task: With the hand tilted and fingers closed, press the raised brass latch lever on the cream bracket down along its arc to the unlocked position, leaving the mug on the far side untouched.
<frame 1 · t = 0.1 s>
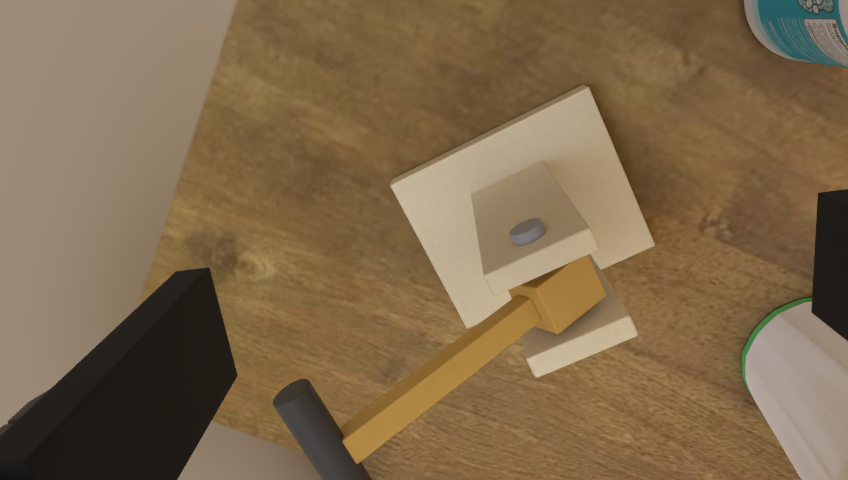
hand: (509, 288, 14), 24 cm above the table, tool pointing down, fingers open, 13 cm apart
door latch: (521, 208, 38), on the table
latch lever: (458, 361, 25), point 15 cm above the table, hinge at 30.0°
cup: (806, 355, 41), on the table
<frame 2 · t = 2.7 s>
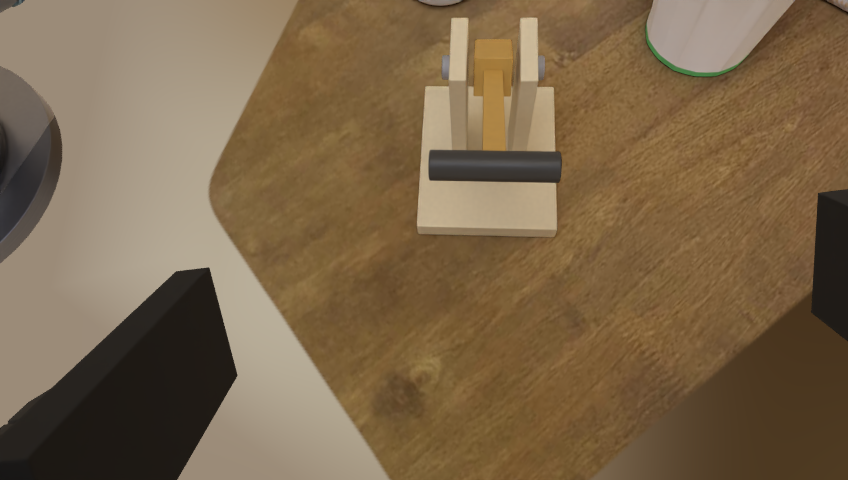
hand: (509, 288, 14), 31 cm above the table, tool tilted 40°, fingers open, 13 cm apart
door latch: (487, 163, 50), on the table
latch lever: (493, 107, 34), point 15 cm above the table, hinge at 30.0°
cup: (696, 36, 53), on the table
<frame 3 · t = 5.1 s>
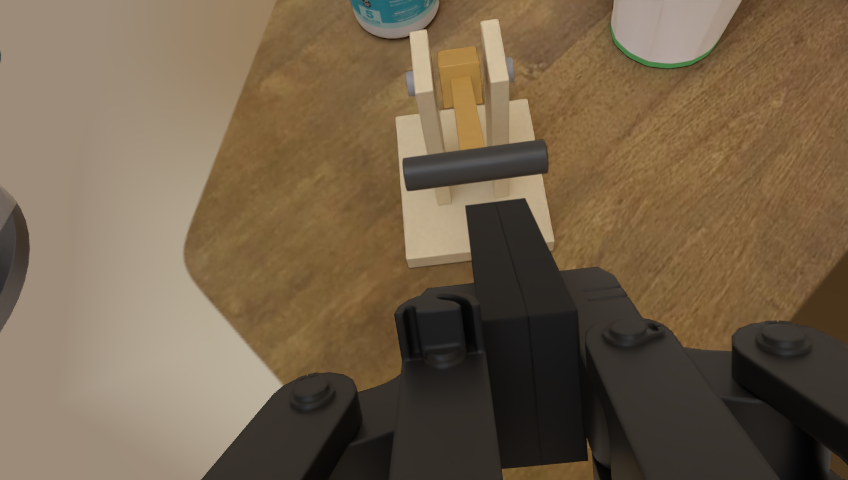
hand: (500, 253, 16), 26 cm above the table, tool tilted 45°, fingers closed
pill bottle: (398, 12, 56), on the table
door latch: (470, 185, 47), on the table
latch lever: (465, 112, 32), point 15 cm above the table, hinge at 30.0°
cup: (663, 29, 52), on the table
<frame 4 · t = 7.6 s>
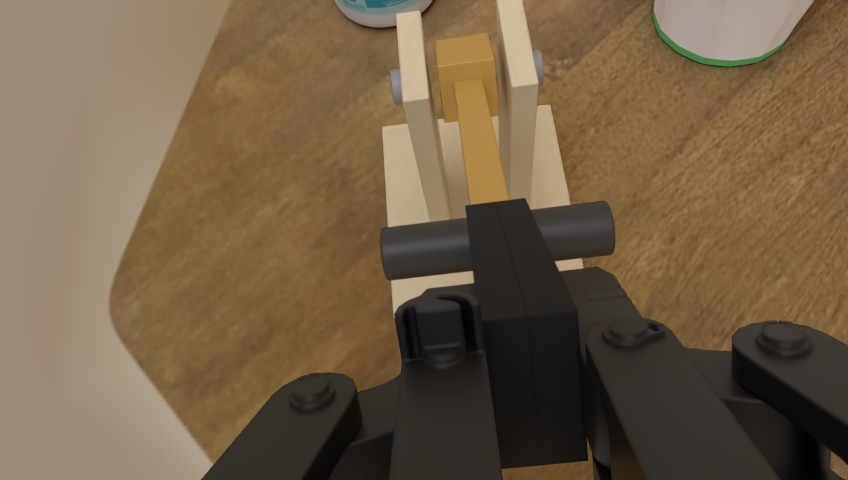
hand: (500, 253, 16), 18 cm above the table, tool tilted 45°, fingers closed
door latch: (477, 216, 37), on the table
latch lever: (477, 137, 22), point 14 cm above the table, hinge at 27.0°, touching gripper
cup: (719, 18, 41), on the table
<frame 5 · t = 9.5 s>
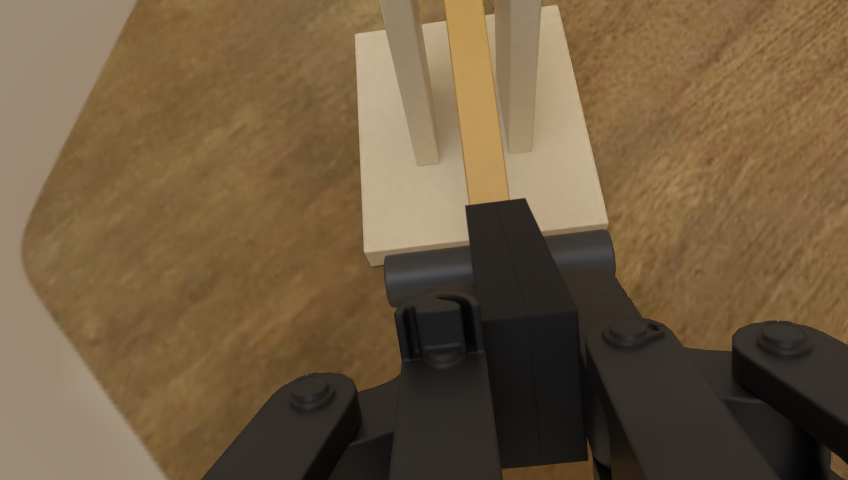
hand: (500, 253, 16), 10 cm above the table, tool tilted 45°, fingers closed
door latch: (470, 137, 30), on the table
latch lever: (471, 67, 18), point 11 cm above the table, hinge at -16.1°, touching gripper
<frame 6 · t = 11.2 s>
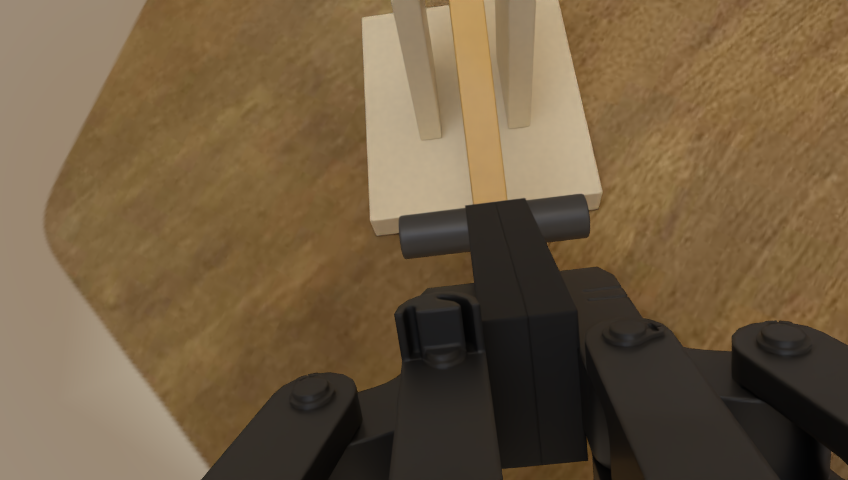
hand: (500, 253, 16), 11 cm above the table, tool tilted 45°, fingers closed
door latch: (471, 115, 32), on the table
latch lever: (471, 47, 21), point 10 cm above the table, hinge at -27.3°
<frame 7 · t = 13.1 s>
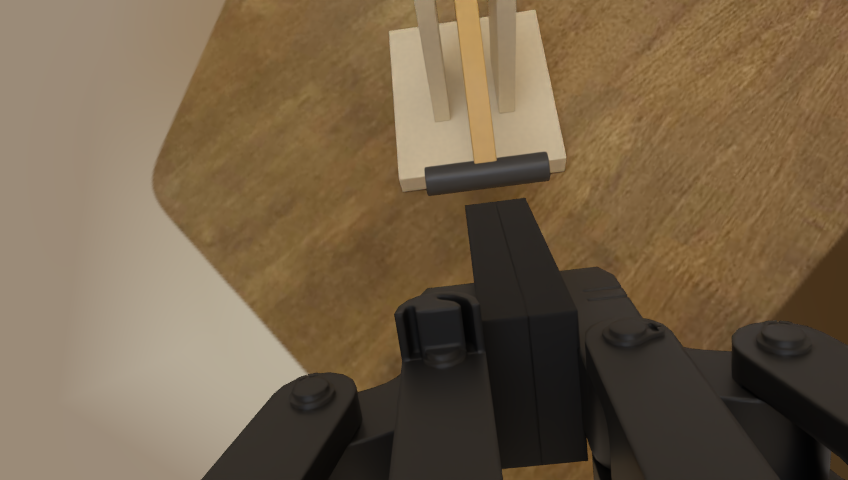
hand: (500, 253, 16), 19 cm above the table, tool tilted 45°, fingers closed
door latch: (472, 104, 42), on the table
latch lever: (472, 55, 32), point 10 cm above the table, hinge at -27.3°
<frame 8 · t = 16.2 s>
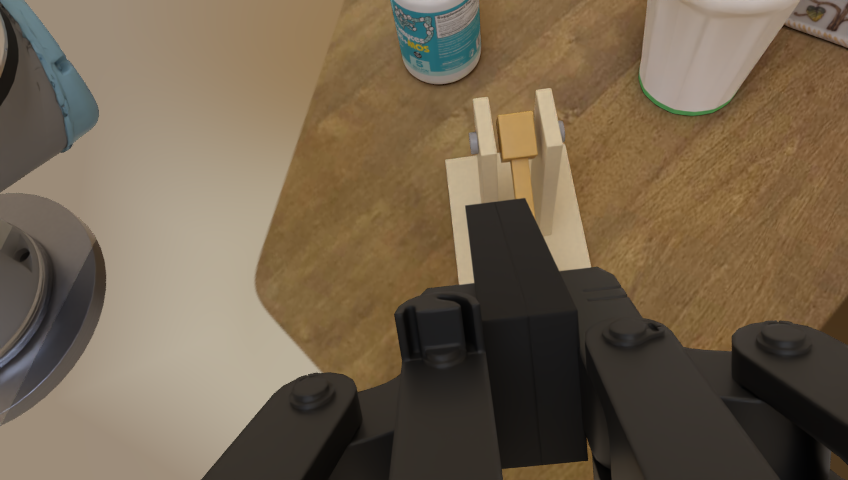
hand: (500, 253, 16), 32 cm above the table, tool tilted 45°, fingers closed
pill bottle: (442, 58, 61), on the table
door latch: (514, 223, 52), on the table
latch lever: (526, 216, 42), point 10 cm above the table, hinge at -27.3°
cup: (687, 78, 57), on the table
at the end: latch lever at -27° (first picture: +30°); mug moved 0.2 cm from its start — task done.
